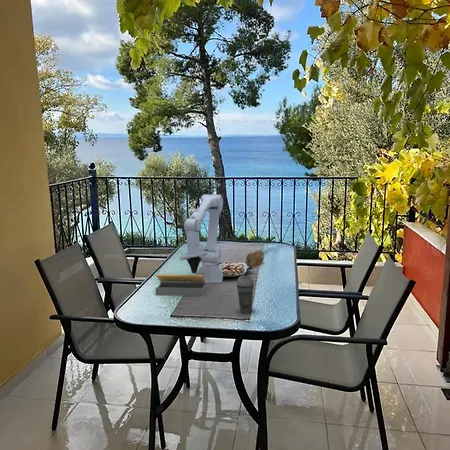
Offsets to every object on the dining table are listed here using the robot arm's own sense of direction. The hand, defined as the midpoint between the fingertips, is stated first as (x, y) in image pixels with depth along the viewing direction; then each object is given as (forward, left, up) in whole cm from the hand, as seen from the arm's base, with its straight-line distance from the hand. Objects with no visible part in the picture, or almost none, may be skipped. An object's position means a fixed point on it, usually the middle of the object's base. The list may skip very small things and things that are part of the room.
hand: (194, 272), depth 198 cm
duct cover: (+7, -2, -4) cm, 8 cm away
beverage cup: (-25, +20, -10) cm, 34 cm away
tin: (-26, -48, -10) cm, 55 cm away
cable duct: (+7, -2, -10) cm, 12 cm away
